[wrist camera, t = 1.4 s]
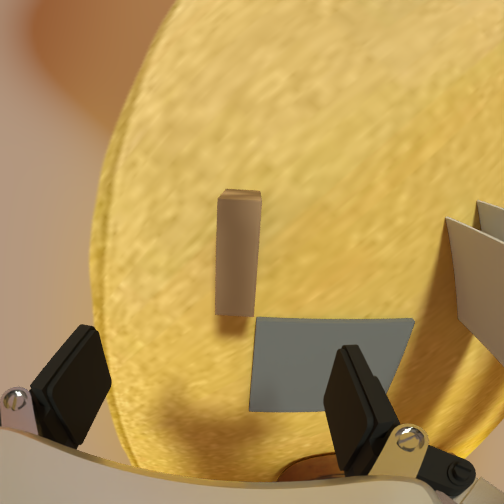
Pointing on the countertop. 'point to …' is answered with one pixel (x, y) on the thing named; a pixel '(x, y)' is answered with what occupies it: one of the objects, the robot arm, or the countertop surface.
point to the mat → (318, 357)
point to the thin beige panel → (480, 276)
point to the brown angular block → (237, 251)
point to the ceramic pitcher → (313, 470)
